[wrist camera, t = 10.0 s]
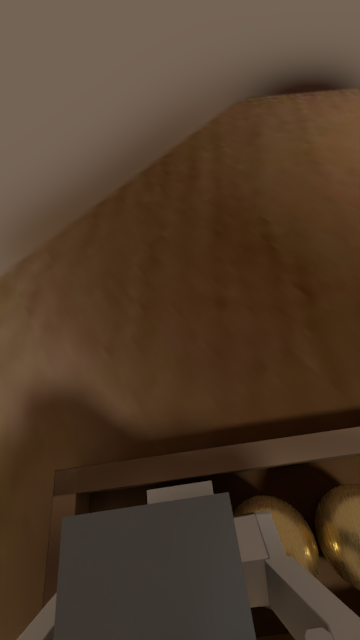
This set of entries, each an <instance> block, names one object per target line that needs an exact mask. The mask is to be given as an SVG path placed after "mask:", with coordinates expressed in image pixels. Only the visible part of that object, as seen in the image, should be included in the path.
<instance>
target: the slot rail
mask: <svg viewBox="0 0 360 640" xmlns="http://www.w3.org/2000/svg"><path fill="white" fill-rule="evenodd" d="M358 455H360V427H354V428H347V429H340V430H333V431H326V432H319V433H312V434H305V435H298V436H291V437H285V438H278V439H271V440H264V441H257V442H250V443H243V444H236V445H229V446H222V447H215V448H208V449H201V450H195V451H188V452H181V453H174V454H167V455H160V456H153V457H146V458H139V459H132V460H125V461H118V462H111V463H104V464H98V465H91V466H84V467H77V468H70V469H63V470H56V471H55V479H54V490H53V501H52V511H51V522H50V532H49V543H48V553H47V564H46V575H45V585H44V596H43V606H42V609H43V608H44V606H45V605H46V604H47V603H48V602H49V601H50V599H51V598H52V597H53V596H54V595H55V594H56V592H57V581H58V568H59V554H60V541H61V527H62V517H67V516H74V515H81V514H87V513H89V505H90V494H91V493H98V492H105V491H112V490H119V489H126V488H133V487H140V486H147V485H154V484H161V483H168V482H175V481H182V480H189V479H196V478H203V477H210V476H217V475H224V474H231V473H238V472H246V471H253V470H260V469H267V468H274V467H281V466H288V465H295V464H302V463H309V462H316V461H323V460H330V459H337V458H344V457H351V456H358ZM256 640H295V639H294V637H293V636H292V635H291V633H284V634H276V635H269V636H261V637H256Z"/></svg>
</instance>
